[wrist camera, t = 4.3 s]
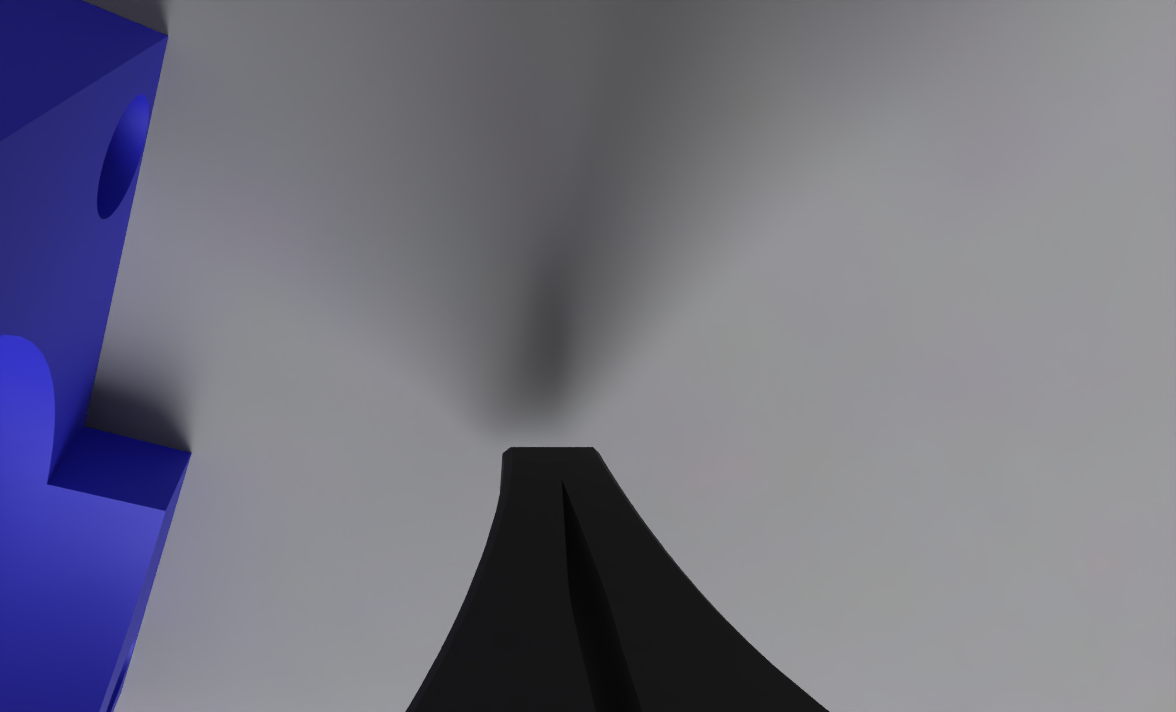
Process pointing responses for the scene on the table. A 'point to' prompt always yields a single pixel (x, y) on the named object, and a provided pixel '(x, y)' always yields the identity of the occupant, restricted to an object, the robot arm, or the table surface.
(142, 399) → the table surface
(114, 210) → the cable clip
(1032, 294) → the table surface
